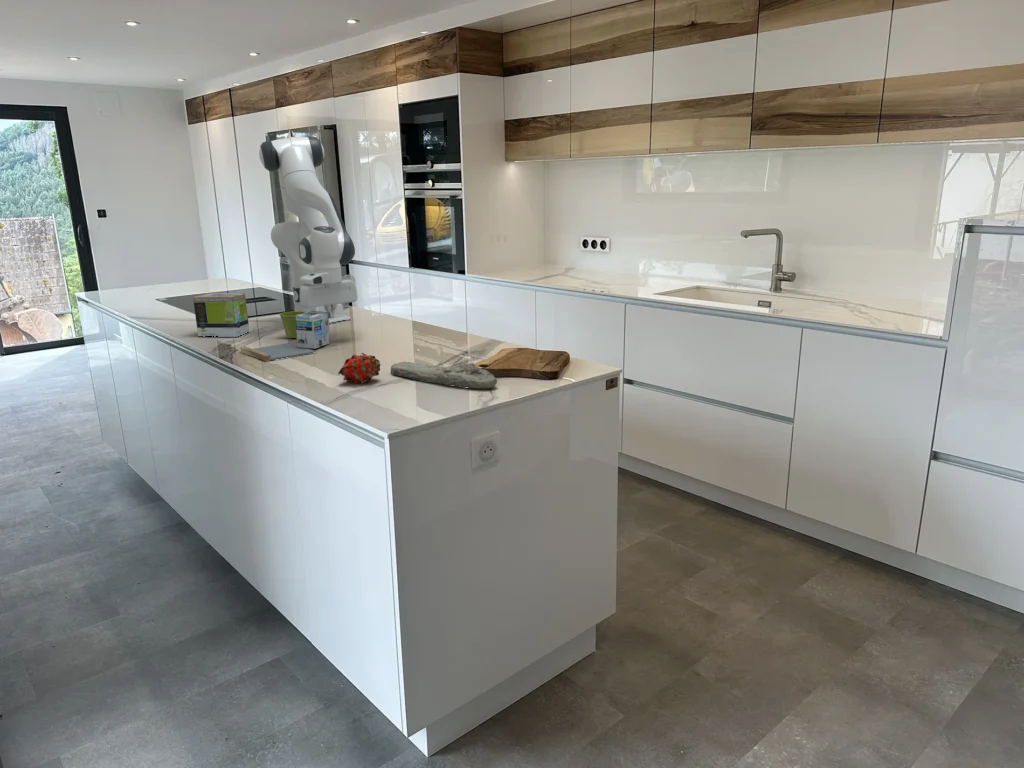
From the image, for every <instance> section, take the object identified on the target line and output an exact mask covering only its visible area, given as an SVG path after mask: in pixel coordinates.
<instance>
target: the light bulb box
mask: <svg viewBox="0 0 1024 768" xmlns="http://www.w3.org/2000/svg"><path fill="white" fill-rule="evenodd" d="M296 330H297V338H296V345H297V347H301V348H307V349H311V350H313V349H314V350H315V349H318V348H320V347H323V346H326V345H328V344H330V342H331V341H330V324H329V313H328V312H321V311H308V312H305V313H302V314H299V315H296Z"/></svg>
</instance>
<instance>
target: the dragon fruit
mask: <svg viewBox="0 0 1024 768" xmlns="http://www.w3.org/2000/svg"><path fill="white" fill-rule="evenodd" d="M381 366H382V364H381V363H380V360H379V359H378V358H376V356H375V355H371V354H368V355H367V354H365V353H364V352H361V353H360V354H359V355H356V354H352V355H351V357H350V358H346V359H345V361H344V364H343V365H342V367H341V368H340V370H339V371H338V373H337V374H338V375H340V374H341V376H344V377H343V381H346V383H352V382H356V383H358V382H360V384H361V385H362V384H364V383H366V382H371V381H372V378H373V377H377V376H379V375H380V373H379V372H380V371H381Z"/></svg>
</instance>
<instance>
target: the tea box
mask: <svg viewBox="0 0 1024 768" xmlns="http://www.w3.org/2000/svg"><path fill="white" fill-rule="evenodd" d="M192 300H193V308H194V314H195V315H194V316H195V322H196V330H197V336H203V337H202V338H206V337H205V336H212V337H211V338H239V337H241V336H240V335H242V336H244V335H246V334H245V333H247V332H249V333H250V326H249V316H248V308H247V307H248V306H247V300H246V293H243V292H242V293H241V292H240V293H239V292H237V293H235V292H234V293H230V292H229V293H224V292H223V293H204V294H201V295H196V296H193V297H192ZM243 334H244V335H243ZM247 334H248V333H247ZM213 336H214V337H213ZM216 336H218V337H216ZM238 336H239V337H238Z"/></svg>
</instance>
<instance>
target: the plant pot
mask: <svg viewBox="0 0 1024 768" xmlns="http://www.w3.org/2000/svg"><path fill="white" fill-rule="evenodd" d="M302 313H305V312H303V311H295V310H293V311H286V312H285V311H283V312H280V313H278V314H279V316H280V319H281V322H282V325H283V328H284V332H285V333H284V334H285V337H286V339H288V338H296V339H297V330H296V315H299V314H302Z"/></svg>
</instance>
